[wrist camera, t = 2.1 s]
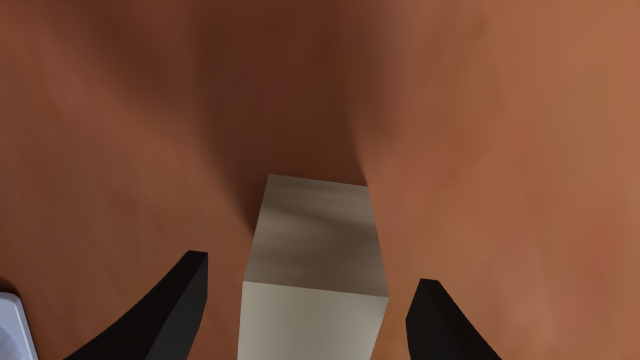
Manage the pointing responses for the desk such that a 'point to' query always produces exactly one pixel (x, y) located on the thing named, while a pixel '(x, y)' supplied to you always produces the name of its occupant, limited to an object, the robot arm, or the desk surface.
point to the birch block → (313, 274)
